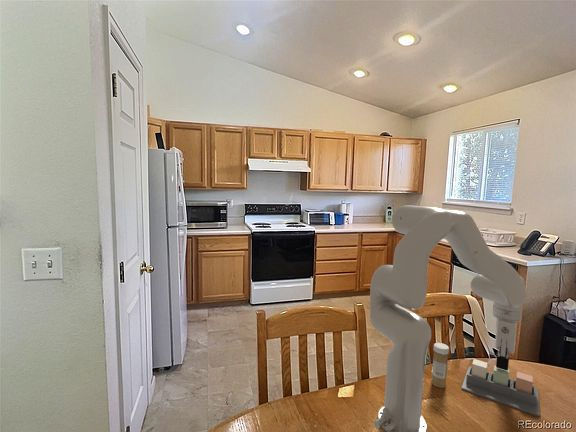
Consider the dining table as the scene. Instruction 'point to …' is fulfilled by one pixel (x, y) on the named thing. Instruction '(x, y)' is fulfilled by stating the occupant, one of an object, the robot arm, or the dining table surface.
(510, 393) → the button panel
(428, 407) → the dining table surface
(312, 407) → the dining table surface
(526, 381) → the terracotta button
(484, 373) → the cream button
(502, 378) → the green button
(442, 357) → the sprinkles bottle
